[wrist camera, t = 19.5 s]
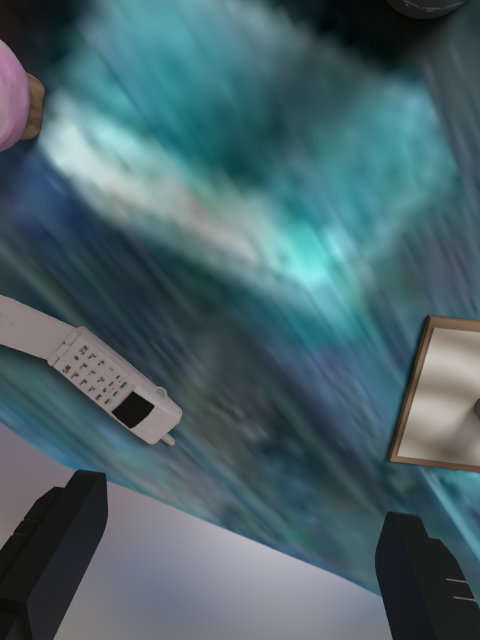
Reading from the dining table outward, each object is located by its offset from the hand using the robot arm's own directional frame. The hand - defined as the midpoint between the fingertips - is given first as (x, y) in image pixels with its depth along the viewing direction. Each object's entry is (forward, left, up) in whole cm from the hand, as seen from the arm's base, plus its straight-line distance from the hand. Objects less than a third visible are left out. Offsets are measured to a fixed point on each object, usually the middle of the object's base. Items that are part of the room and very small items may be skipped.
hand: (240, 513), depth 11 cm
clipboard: (+12, +26, -30) cm, 42 cm away
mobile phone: (+13, -17, -31) cm, 38 cm away
